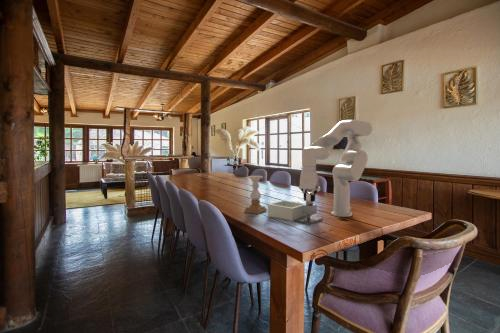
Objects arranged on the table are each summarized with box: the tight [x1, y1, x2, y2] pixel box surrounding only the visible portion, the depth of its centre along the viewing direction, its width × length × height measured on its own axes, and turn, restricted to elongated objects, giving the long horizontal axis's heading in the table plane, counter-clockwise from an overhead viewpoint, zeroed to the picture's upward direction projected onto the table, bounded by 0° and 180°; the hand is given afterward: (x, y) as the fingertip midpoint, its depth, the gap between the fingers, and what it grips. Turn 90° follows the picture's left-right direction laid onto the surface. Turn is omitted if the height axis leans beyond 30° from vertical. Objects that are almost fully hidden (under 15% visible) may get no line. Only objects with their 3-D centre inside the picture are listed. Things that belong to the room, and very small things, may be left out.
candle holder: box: [244, 175, 268, 215], centre depth 182 cm, size 11×11×24 cm
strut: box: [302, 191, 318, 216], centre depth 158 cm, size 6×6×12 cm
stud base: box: [294, 214, 324, 226], centre depth 158 cm, size 14×10×6 cm
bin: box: [267, 200, 306, 223], centre depth 169 cm, size 16×18×8 cm
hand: (309, 200), depth 158 cm, fingers closed on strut, 4 cm apart
